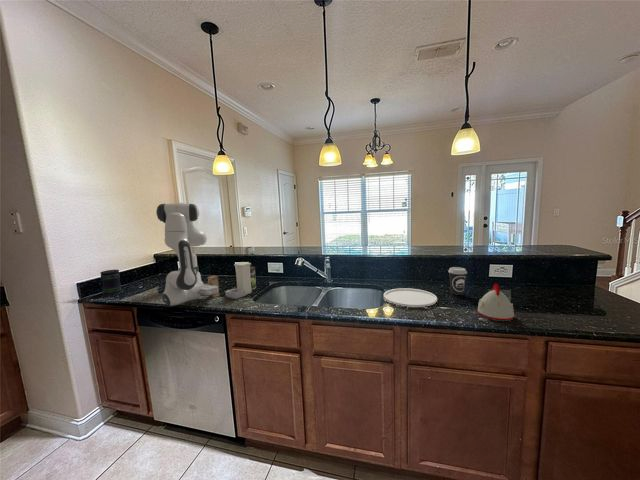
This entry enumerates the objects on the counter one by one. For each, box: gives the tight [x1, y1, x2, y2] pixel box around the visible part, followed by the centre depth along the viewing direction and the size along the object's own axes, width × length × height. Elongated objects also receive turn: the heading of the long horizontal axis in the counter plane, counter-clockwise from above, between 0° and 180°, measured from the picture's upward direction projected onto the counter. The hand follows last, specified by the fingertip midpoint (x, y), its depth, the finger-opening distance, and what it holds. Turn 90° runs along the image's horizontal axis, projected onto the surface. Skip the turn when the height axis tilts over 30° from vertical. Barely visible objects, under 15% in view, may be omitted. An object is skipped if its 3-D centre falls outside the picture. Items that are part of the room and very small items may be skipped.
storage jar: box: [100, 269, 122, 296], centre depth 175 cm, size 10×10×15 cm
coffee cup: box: [448, 266, 468, 295], centre depth 151 cm, size 10×10×15 cm
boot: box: [225, 261, 252, 300], centre depth 162 cm, size 9×14×19 cm, turn 147°
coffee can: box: [250, 265, 257, 291], centre depth 176 cm, size 10×10×14 cm
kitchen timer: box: [477, 283, 515, 320], centre depth 120 cm, size 14×14×15 cm
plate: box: [383, 287, 438, 307], centre depth 146 cm, size 28×28×2 cm
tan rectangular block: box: [207, 275, 220, 298], centre depth 162 cm, size 4×4×12 cm
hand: (214, 285), depth 163 cm, fingers open, 4 cm apart
